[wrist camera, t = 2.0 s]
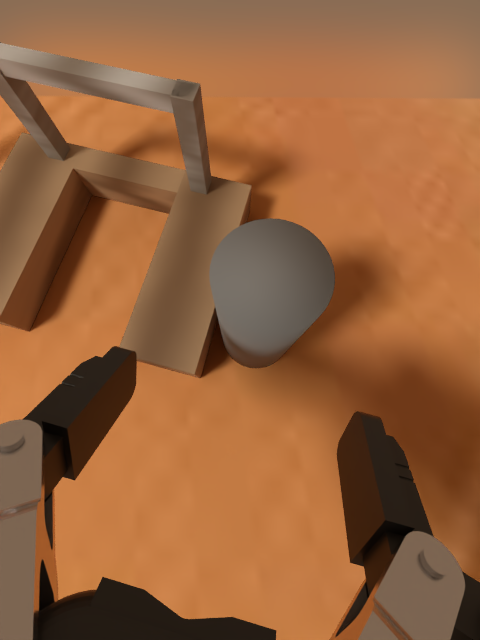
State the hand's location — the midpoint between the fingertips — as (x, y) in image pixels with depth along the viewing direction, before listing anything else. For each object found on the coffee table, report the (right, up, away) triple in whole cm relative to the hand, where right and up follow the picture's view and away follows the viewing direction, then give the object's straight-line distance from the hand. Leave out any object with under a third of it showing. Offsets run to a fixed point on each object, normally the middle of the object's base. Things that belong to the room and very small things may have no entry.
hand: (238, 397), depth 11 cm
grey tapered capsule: (+1, +2, +11) cm, 11 cm away
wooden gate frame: (-10, +7, +13) cm, 18 cm away
